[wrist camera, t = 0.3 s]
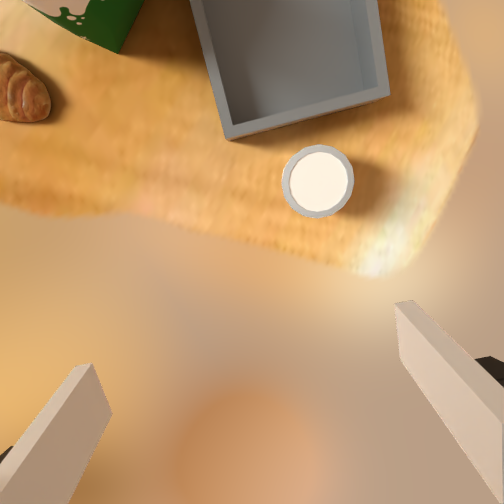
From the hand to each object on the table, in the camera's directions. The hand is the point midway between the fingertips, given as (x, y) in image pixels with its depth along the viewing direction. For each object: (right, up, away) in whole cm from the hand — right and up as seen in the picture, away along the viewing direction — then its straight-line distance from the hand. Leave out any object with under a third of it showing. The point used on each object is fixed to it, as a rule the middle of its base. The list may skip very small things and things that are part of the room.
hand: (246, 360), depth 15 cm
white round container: (+6, +13, +25) cm, 29 cm away
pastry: (-26, +22, +23) cm, 41 cm away
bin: (+3, +29, +21) cm, 36 cm away
